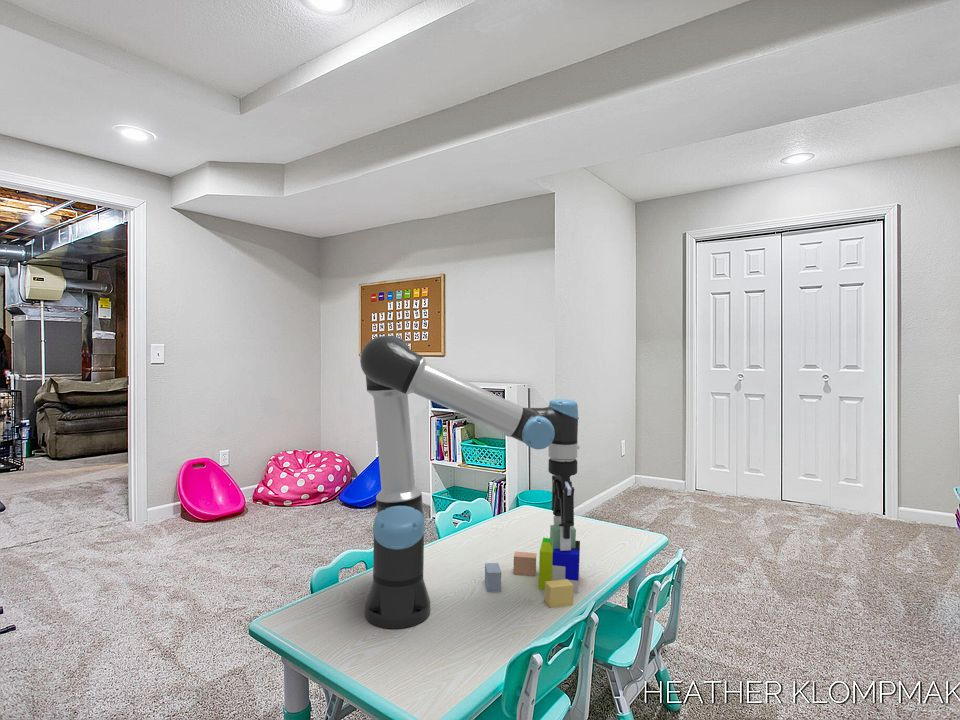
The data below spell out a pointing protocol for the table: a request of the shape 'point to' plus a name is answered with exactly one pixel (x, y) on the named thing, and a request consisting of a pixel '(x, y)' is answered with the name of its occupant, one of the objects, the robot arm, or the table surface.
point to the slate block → (492, 577)
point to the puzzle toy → (558, 564)
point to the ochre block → (558, 593)
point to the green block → (556, 536)
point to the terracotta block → (524, 563)
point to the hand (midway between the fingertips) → (561, 544)
